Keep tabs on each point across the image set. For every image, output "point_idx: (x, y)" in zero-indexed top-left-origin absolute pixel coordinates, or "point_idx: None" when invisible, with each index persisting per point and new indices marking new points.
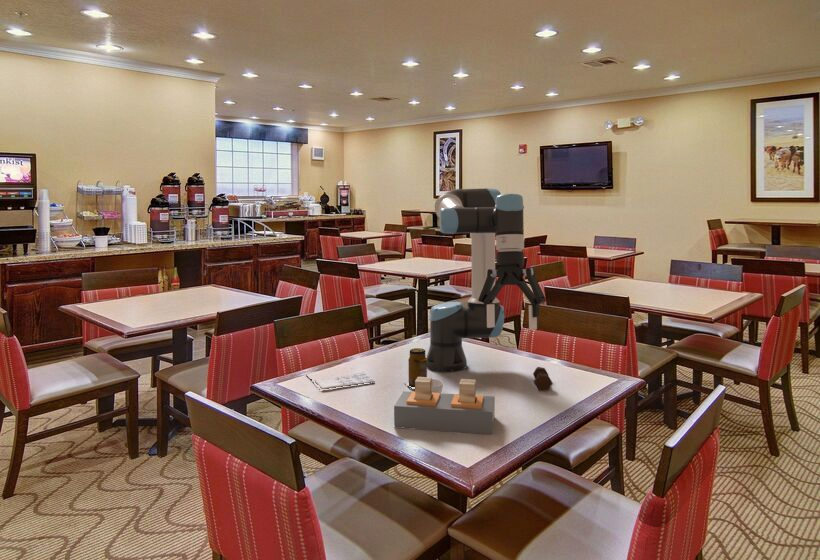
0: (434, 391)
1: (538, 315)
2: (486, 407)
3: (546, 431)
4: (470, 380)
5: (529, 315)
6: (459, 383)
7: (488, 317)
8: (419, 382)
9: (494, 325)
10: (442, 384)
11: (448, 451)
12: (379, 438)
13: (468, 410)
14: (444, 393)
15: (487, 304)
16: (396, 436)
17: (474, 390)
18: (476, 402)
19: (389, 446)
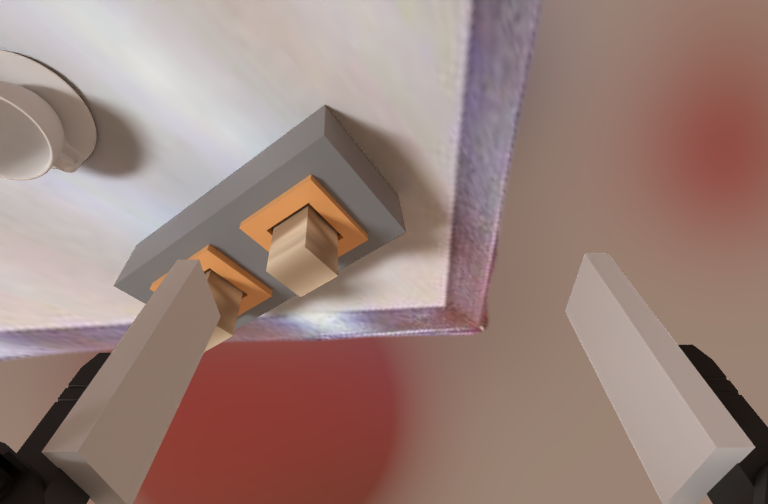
0: (61, 146)
1: (702, 365)
2: (372, 220)
3: (502, 82)
4: (298, 261)
5: (619, 405)
6: (300, 296)
7: (185, 382)
8: (212, 345)
9: (195, 272)
10: (32, 114)
11: (382, 295)
12: (256, 336)
13: (352, 261)
14: (17, 58)
15: (94, 501)
16: (267, 317)
17: (335, 258)
18: (341, 232)
19: (296, 339)
